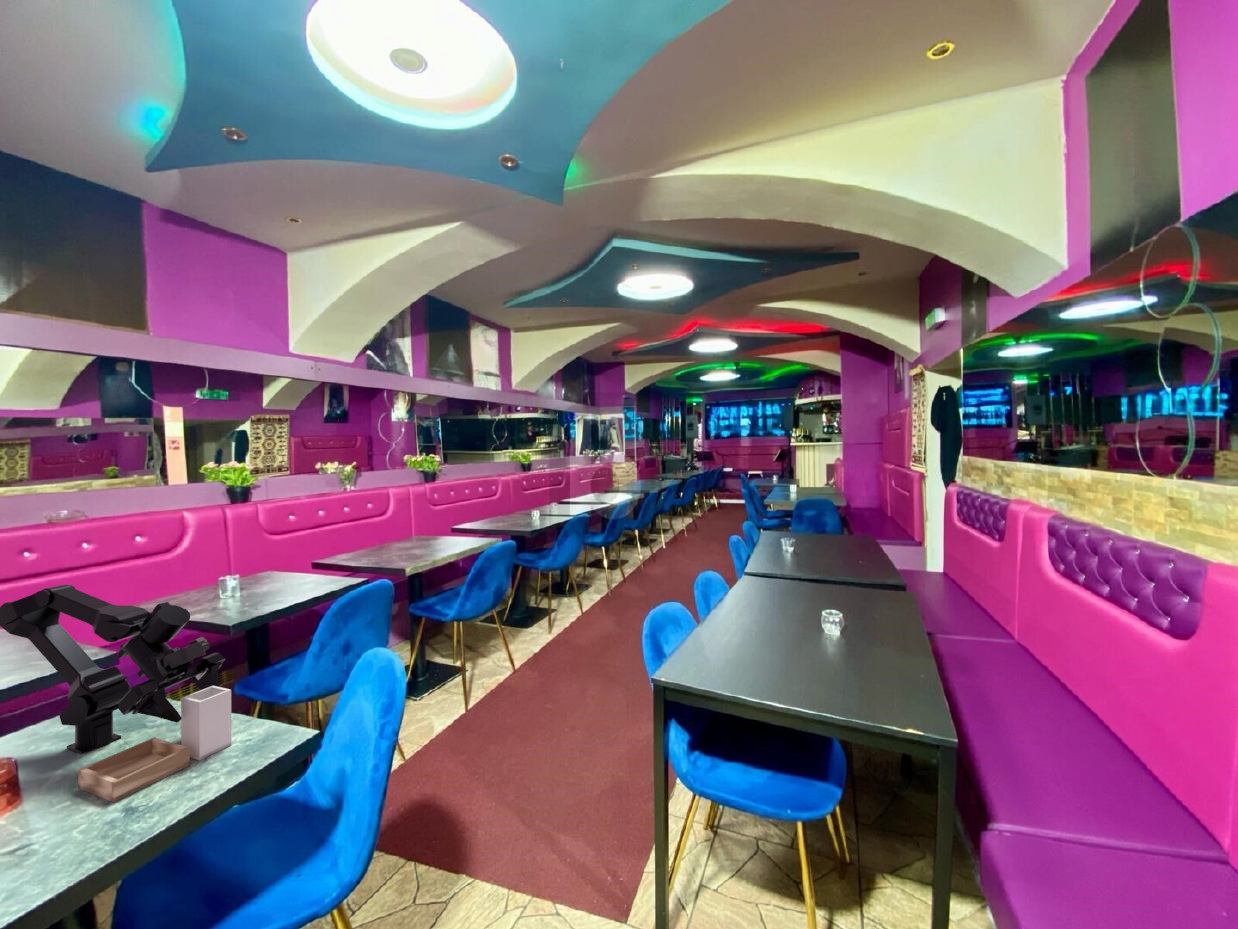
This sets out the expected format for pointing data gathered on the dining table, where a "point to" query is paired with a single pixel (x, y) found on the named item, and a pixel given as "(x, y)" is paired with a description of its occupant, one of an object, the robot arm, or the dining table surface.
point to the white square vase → (206, 721)
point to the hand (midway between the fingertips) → (201, 709)
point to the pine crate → (133, 769)
